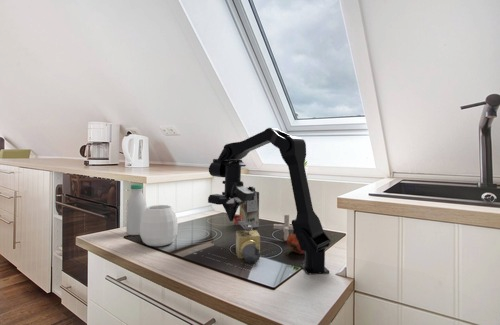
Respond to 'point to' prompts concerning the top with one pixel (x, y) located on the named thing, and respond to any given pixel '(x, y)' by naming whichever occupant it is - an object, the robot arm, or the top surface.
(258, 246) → the valve
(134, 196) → the milk bottle
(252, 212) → the coffee box
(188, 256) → the top surface
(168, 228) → the white faceted vase
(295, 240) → the pomegranate
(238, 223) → the lever
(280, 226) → the pipe connector
